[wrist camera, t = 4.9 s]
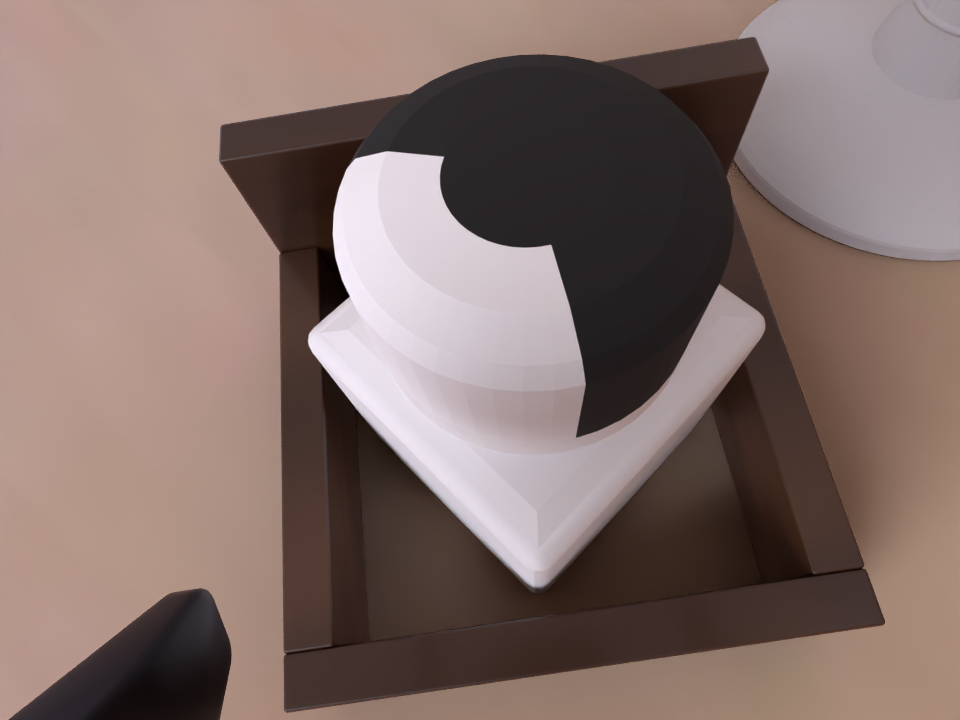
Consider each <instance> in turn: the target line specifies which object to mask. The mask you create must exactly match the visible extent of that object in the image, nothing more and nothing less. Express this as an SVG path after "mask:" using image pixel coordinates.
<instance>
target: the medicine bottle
mask: <svg viewBox="0 0 960 720" xmlns="http://www.w3.org/2000/svg"><path fill="white" fill-rule="evenodd" d="M733 234H734V209H733V203H732V197H731V191H730V186H729V183H728V180H727V177H726V174H725V171H724V169H723V166H722V163H721V162H720V160H719V158H718V156H717V154H716V152H715V151H714V149H713V147H712V145H711V143H710V142H709V141H708V139H707V138H706V137H705V136H704V134H703V133H702V132H701V130H700V129H699V128H698V126H697V125H696V124H695V123H694V122H693V121H692V120H691V119H690V118H689V117H688V116H687V115H686V114H685V113H684V112H683V111H682V110H681V109H680V108H679V107H678V106H677V105H676V104H675V103H674V102H673V101H671V100H670V99H669V98H667V97H666V96H665V95H663V94H662V93H661V92H659V91H658V90H657V89H655V88H654V87H652V86H651V85H649V84H647V83H645V82H644V81H642V80H640V79H638V78H637V77H635V76H633V75H630V74H628V73H626V72H623V71H621V70H619V69H616V68H614V67H611V66H607V65H604V64H601V63H597V62H594V61H591V60H585V59H580V58H574V57H569V56H557V55H517V56H510V57H502V58H495V59H491V60H487V61H483V62H478V63H474V64H471V65H468V66H465V67H463V68H460V69H457V70H454V71H451V72H449V73H447V74H445V75H443V76H441V77H439V78H437V79H434V80H432V81H430V82H429V83H427V84H426V85H424V86H422V87H421V88H419V89H417V90H416V91H414V92H413V93H411V94H410V95H409V96H407V97H406V98H405V99H404V100H402V101H401V102H400V103H398V104H397V105H396V106H395V107H394V108H393V109H392V110H391V111H390V112H389V113H388V114H387V115H386V116H385V117H384V118H383V119H382V120H381V121H380V122H379V123H378V124H377V125H376V126H375V127H374V129H373V130H372V131H371V132H370V134H369V135H368V136H367V138H366V139H365V140H364V142H363V143H362V144H361V145H360V147H359V148H358V149H357V151H356V153H355V155H354V157H353V158H352V160H351V162H350V164H349V166H348V167H347V169H346V172H345V174H344V177H343V180H342V182H341V185H340V188H339V190H338V195H337V199H336V204H335V209H334V218H333V242H334V250H335V258H336V261H337V265H338V268H339V271H340V275H341V278H342V281H343V283H344V285H345V287H346V289H347V291H348V293H349V295H350V297H349V298H348V299H346V300H345V301H344V302H343V303H342V304H341V305H339V306H338V307H337V308H336V309H335V310H334V311H333V312H331V313H330V314H329V315H328V316H327V317H326V318H324V319H323V320H322V321H321V322H320V323H319V324H317V325H316V326H315V327H314V328H313V329H312V331H311V332H310V333H309V338H308V344H309V347H310V349H311V351H312V353H313V354H314V355H315V356H316V358H317V359H318V360H319V362H320V363H321V364H322V365H323V367H324V368H325V369H326V371H327V372H328V373H329V374H330V376H331V377H332V378H333V380H334V381H335V382H336V383H337V385H338V386H339V387H340V388H341V390H342V391H343V392H344V394H345V395H346V396H347V397H348V399H349V400H350V401H351V403H352V404H353V405H354V406H355V408H356V409H357V410H358V412H359V413H360V414H361V415H362V417H363V418H364V419H365V421H366V422H367V423H368V424H369V426H370V427H371V428H372V430H373V431H374V432H375V433H376V435H377V436H378V437H379V438H380V439H381V440H382V441H383V442H384V443H385V444H386V445H387V446H388V447H389V448H390V449H391V450H392V451H393V452H394V453H395V454H396V455H397V456H398V457H399V458H400V459H401V460H402V461H403V463H404V464H405V465H406V466H407V467H408V468H409V469H410V470H411V471H412V472H413V473H414V474H415V475H416V476H417V477H418V478H419V479H420V480H421V481H422V482H423V483H424V484H425V485H426V486H427V487H428V488H429V489H430V490H431V491H432V492H433V493H434V494H435V495H436V496H437V497H438V498H439V499H440V500H441V501H442V502H443V503H444V504H445V505H446V506H447V507H448V508H449V509H450V510H451V511H452V513H453V514H454V515H455V516H456V517H457V518H458V519H459V520H460V521H461V522H462V523H463V524H464V525H465V526H466V527H467V528H468V529H469V530H470V531H471V532H472V533H473V534H474V535H475V536H476V537H477V538H478V539H479V540H480V541H481V542H482V543H483V544H484V545H485V546H486V547H487V548H488V549H489V550H490V551H491V552H492V553H493V554H494V555H495V556H496V557H497V558H498V559H499V560H500V561H501V563H502V564H503V565H504V566H505V567H506V568H507V569H508V570H509V571H510V572H511V573H512V574H513V575H514V576H515V577H516V578H517V579H518V580H519V581H520V582H521V583H522V584H523V585H524V586H525V587H526V588H527V589H528V590H529V591H531V592H533V593H534V594H542V593H544V592H546V591H547V590H548V589H549V588H550V587H551V586H552V585H553V584H554V583H555V582H556V580H557V579H558V578H559V577H560V576H561V575H562V574H563V573H564V572H565V571H566V569H567V568H568V567H569V566H570V565H571V564H572V563H573V562H574V561H575V559H576V558H577V557H578V556H579V555H580V554H581V553H582V552H583V551H584V549H585V548H586V547H587V546H588V545H589V544H590V543H591V542H592V541H593V540H594V538H595V537H596V536H597V535H598V534H599V533H600V532H601V531H602V530H603V528H604V527H605V526H606V525H607V524H608V523H609V522H610V521H611V520H612V519H613V517H614V516H615V515H616V514H617V513H618V512H619V511H620V510H621V509H622V507H623V506H624V505H625V504H626V503H627V502H628V501H629V500H630V499H631V498H632V496H633V495H634V494H635V493H636V492H637V491H638V490H639V489H640V488H641V486H642V485H643V484H644V483H645V482H646V481H647V480H648V479H649V478H650V477H651V475H652V474H653V473H654V472H655V471H656V470H657V469H658V468H659V467H660V465H661V464H662V463H663V462H664V461H665V460H666V459H667V458H668V457H669V455H670V454H671V453H672V452H673V451H674V450H675V449H676V448H677V447H678V446H679V444H680V443H681V442H682V441H683V440H684V439H685V438H686V437H687V436H688V434H689V433H690V432H691V431H692V430H693V429H694V428H695V426H696V425H697V424H698V422H699V421H700V420H701V418H702V417H703V415H704V414H705V413H706V411H707V410H708V409H709V407H710V406H711V405H712V403H713V402H714V401H715V399H716V398H717V397H718V395H719V394H720V393H721V391H722V390H723V389H724V387H725V386H726V384H727V383H728V382H729V380H730V379H731V378H732V376H733V375H734V374H735V372H736V371H737V370H738V368H739V367H740V366H741V364H742V363H743V362H744V360H745V359H746V358H747V356H748V355H749V353H750V352H751V351H752V349H753V348H754V347H755V345H756V344H757V343H758V341H759V340H760V339H761V337H762V335H763V333H764V331H765V320H764V317H763V316H762V315H761V314H760V313H759V312H758V311H757V310H755V309H754V308H753V307H751V306H750V305H748V304H747V303H746V302H744V301H743V300H741V299H740V298H738V297H737V296H736V295H734V294H733V293H731V292H730V291H729V290H727V289H726V288H724V287H723V286H722V285H720V281H721V279H722V276H723V273H724V271H725V268H726V265H727V263H728V260H729V256H730V251H731V245H732V240H733Z"/></svg>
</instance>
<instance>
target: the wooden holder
mask: <svg viewBox="0 0 960 720" xmlns="http://www.w3.org/2000/svg"><path fill="white" fill-rule="evenodd" d="M597 63H601V64H604V65H607V66H611V67H614V68H616V69H619V70H621V71H623V72H626V73H628V74H630V75H633V76H635V77H637V78H638V79H640V80H642V81H644V82H645V83H647V84H649V85H651V86H652V87H654V88H655V89H657V90H658V91H659V92H661V93H662V94H663V95H665V96H666V97H667V98H669V99H670V100H671V101H673V102H674V103H675V104H676V105H677V106H678V107H679V108H680V109H681V110H682V111H683V112H684V113H685V114H686V115H687V116H688V117H689V118H690V119H691V120H692V121H693V122H694V123H695V124H696V125H697V126H698V128H699V129H700V130H701V132H702V133H703V134H704V136H705V137H706V138H707V139H708V141H709V142H710V143H711V145H712V147H713V149H714V151H715V152H716V154H717V156H718V158H719V160H720V162H721V163H722V166H723V169H724V171H725V174H726V176H727V174H728V171H729V169H730V167H731V164H732V162H733V159H734V157H735V154H736V152H737V149H738V147H739V145H740V142H741V140H742V137H743V135H744V132H745V130H746V127H747V125H748V122H749V120H750V118H751V115H752V113H753V110H754V108H755V105H756V103H757V100H758V98H759V96H760V93H761V91H762V88H763V86H764V83H765V81H766V78H767V76H768V74H769V67H768V65H767V63H766V60H765V58H764V56H763V53H762V51H761V49H760V46H759V44H758V42H757V40H756V38H755V37H748V38H742V39H736V40H730V41H724V42H718V43H712V44H706V45H700V46H694V47H688V48H682V49H676V50H669V51H663V52H657V53H651V54H645V55H639V56H633V57H627V58H621V59H615V60H609V61H603V62H597ZM409 95H410V94H405V95H399V96H393V97H387V98H381V99H375V100H369V101H363V102H357V103H351V104H345V105H339V106H333V107H327V108H321V109H315V110H309V111H303V112H297V113H291V114H285V115H279V116H273V117H267V118H261V119H255V120H248V121H242V122H236V123H230V124H224V125H222V126H221V127H220V154H219V161H220V163H221V165H222V166H223V168H224V169H225V171H226V172H227V174H228V175H229V177H230V178H231V180H232V181H233V183H234V184H235V186H236V187H237V189H238V190H239V192H240V193H241V195H242V196H243V198H244V199H245V201H246V202H247V204H248V205H249V207H250V208H251V210H252V211H253V213H254V214H255V216H256V217H257V219H258V220H259V222H260V223H261V225H262V226H263V228H264V229H265V231H266V232H267V234H268V235H269V237H270V238H271V240H272V241H273V243H274V244H275V246H276V247H277V249H278V250H279V252H280V255H279V262H280V355H281V447H282V540H283V632H284V653H286V655H285V656H284V710H285V712H287V713H289V712H295V711H302V710H309V709H316V708H323V707H330V706H336V705H343V704H350V703H357V702H364V701H370V700H377V699H384V698H391V697H398V696H405V695H411V694H418V693H425V692H432V691H439V690H445V689H452V688H459V687H466V686H473V685H480V684H486V683H493V682H500V681H507V680H514V679H520V678H527V677H534V676H541V675H548V674H555V673H561V672H568V671H575V670H582V669H589V668H595V667H602V666H609V665H616V664H623V663H629V662H636V661H643V660H650V659H657V658H664V657H670V656H677V655H684V654H691V653H698V652H704V651H711V650H718V649H725V648H732V647H739V646H745V645H752V644H759V643H766V642H773V641H779V640H786V639H793V638H800V637H807V636H814V635H820V634H827V633H834V632H841V631H848V630H854V629H861V628H868V627H875V626H882V625H884V624H885V620H884V618H883V615H882V612H881V609H880V607H879V604H878V601H877V598H876V595H875V593H874V590H873V587H872V584H871V582H870V579H869V576H868V573H867V571H866V570H865V569H862V568H863V567H864V563H863V560H862V557H861V554H860V552H859V549H858V546H857V543H856V540H855V538H854V535H853V532H852V529H851V527H850V524H849V521H848V518H847V516H846V513H845V510H844V507H843V504H842V502H841V499H840V496H839V493H838V491H837V488H836V485H835V482H834V480H833V477H832V474H831V471H830V469H829V466H828V463H827V460H826V457H825V455H824V452H823V449H822V446H821V444H820V441H819V438H818V435H817V433H816V430H815V427H814V424H813V421H812V419H811V416H810V413H809V410H808V408H807V405H806V402H805V399H804V397H803V394H802V391H801V388H800V385H799V383H798V380H797V377H796V374H795V372H794V369H793V366H792V363H791V361H790V358H789V355H788V352H787V349H786V347H785V344H784V341H783V338H782V336H781V333H780V330H779V327H778V325H777V322H776V319H775V316H774V313H773V311H772V308H771V305H770V302H769V300H768V297H767V294H766V291H765V289H764V286H763V283H762V280H761V277H760V275H759V272H758V269H757V266H756V264H755V261H754V258H753V255H752V253H751V250H750V247H749V244H748V241H747V239H746V236H745V233H744V230H743V228H742V225H741V222H740V219H739V217H738V214H737V211H736V208H735V205H734V203H733V200H732V203H733V209H734V234H733V240H732V245H731V251H730V256H729V260H728V263H727V265H726V268H725V271H724V273H723V276H722V279H721V281H720V285H722V286H723V287H724V288H726V289H727V290H729V291H730V292H731V293H733V294H734V295H736V296H737V297H738V298H740V299H741V300H743V301H744V302H746V303H747V304H748V305H750V306H751V307H753V308H754V309H755V310H757V311H758V312H759V313H760V314H761V315H762V316H763V317H764V320H765V331H764V333H763V335H762V337H761V339H760V340H759V341H758V343H757V344H756V345H755V347H754V348H753V349H752V351H751V352H750V353H749V355H748V356H747V358H746V359H745V360H744V362H743V363H742V364H741V366H740V367H739V368H738V370H737V371H736V372H735V374H734V375H733V376H732V378H731V379H730V380H729V382H728V383H727V384H726V386H725V387H724V389H723V390H722V391H721V393H720V394H719V395H718V397H717V398H716V399H715V401H714V402H713V403H712V405H711V407H712V410H713V414H714V417H715V420H716V424H717V427H718V430H719V434H720V437H721V440H722V444H723V447H724V451H725V454H726V457H727V461H728V464H729V467H730V471H731V474H732V477H733V481H734V484H735V488H736V491H737V494H738V498H739V501H740V504H741V508H742V511H743V514H744V518H745V521H746V525H747V528H748V531H749V535H750V538H751V541H752V545H753V548H754V551H755V555H756V558H757V562H758V565H759V568H760V572H761V575H762V578H763V582H764V583H762V584H755V585H748V586H741V587H735V588H728V589H721V590H714V591H708V592H701V593H694V594H687V595H681V596H674V597H667V598H661V599H654V600H647V601H640V602H634V603H627V604H620V605H613V606H607V607H600V608H593V609H587V610H580V611H573V612H566V613H560V614H553V615H546V616H539V617H533V618H526V619H519V620H513V621H506V622H499V623H492V624H486V625H479V626H472V627H465V628H459V629H452V630H445V631H439V632H432V633H425V634H418V635H412V636H405V637H398V638H391V639H385V640H378V641H371V642H369V630H368V614H367V597H366V580H365V564H364V547H363V530H362V514H361V497H360V481H359V464H358V447H357V431H356V414H355V406H354V405H353V404H352V403H351V401H350V400H349V399H348V397H347V396H346V395H345V394H344V392H343V391H342V390H341V388H340V387H339V386H338V385H337V383H336V382H335V381H334V380H333V378H332V377H331V376H330V374H329V373H328V372H327V371H326V369H325V368H324V367H323V365H322V364H321V363H320V362H319V360H318V359H317V358H316V356H315V355H314V354H313V353H312V351H311V349H310V347H309V344H308V338H309V333H310V332H311V331H312V329H313V328H314V327H315V326H316V325H317V324H319V323H320V322H321V321H322V320H323V319H324V318H326V317H327V316H328V315H329V314H330V313H331V312H333V311H334V310H335V309H336V308H337V307H338V306H339V305H341V304H342V303H343V302H344V301H345V300H346V299H348V298H349V297H350V295H349V293H348V291H347V289H346V287H345V285H344V283H343V281H342V278H341V275H340V271H339V268H338V265H337V261H336V258H335V250H334V242H333V218H334V209H335V204H336V199H337V195H338V190H339V188H340V185H341V182H342V180H343V177H344V174H345V172H346V169H347V167H348V166H349V164H350V162H351V160H352V158H353V157H354V155H355V153H356V151H357V149H358V148H359V147H360V145H361V144H362V143H363V142H364V140H365V139H366V138H367V136H368V135H369V134H370V132H371V131H372V130H373V129H374V127H375V126H376V125H377V124H378V123H379V122H380V121H381V120H382V119H383V118H384V117H385V116H386V115H387V114H388V113H389V112H390V111H391V110H392V109H393V108H394V107H395V106H396V105H397V104H398V103H400V102H401V101H402V100H404V99H405V98H406V97H407V96H409Z"/></svg>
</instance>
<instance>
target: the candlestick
mask: <svg viewBox="0 0 960 720" xmlns="http://www.w3.org/2000/svg"><path fill="white" fill-rule="evenodd" d="M748 37H755V38H756V40H757V42H758V44H759V46H760V49H761V51H762V53H763V56H764V58H765V60H766V63H767V65H768V67H769V74H768V76H767V78H766V81H765V83H764V86H763V88H762V91H761V93H760V96H759V98H758V100H757V103H756V105H755V108H754V110H753V113H752V115H751V118H750V120H749V122H748V125H747V127H746V130H745V132H744V135H743V137H742V140H741V142H740V145H739V147H738V149H737V152H736V154H735V157H734V161H735V163H736V164H737V166H738V167H739V169H740V170H741V171H742V173H743V174H744V175H745V177H746V178H747V179H748V180H749V182H750V183H751V184H752V185H753V186H754V187H755V188H756V189H757V190H758V191H759V192H760V193H761V194H762V195H763V196H764V197H765V198H766V199H767V200H768V201H770V202H771V203H772V204H773V205H774V206H776V207H777V208H778V209H779V210H781V211H782V212H783V213H785V214H786V215H788V216H789V217H791V218H792V219H794V220H795V221H797V222H799V223H800V224H802V225H804V226H805V227H807V228H809V229H811V230H813V231H815V232H817V233H819V234H821V235H823V236H825V237H827V238H830V239H832V240H834V241H837V242H840V243H842V244H845V245H848V246H851V247H854V248H857V249H860V250H864V251H867V252H871V253H875V254H880V255H885V256H890V257H896V258H903V259H912V260H926V261H949V260H960V0H779V1H777V2H776V3H774V4H773V5H771V6H770V7H768V8H767V9H765V10H764V11H763V12H762V13H760V14H759V15H758V16H757V17H756V18H755V19H754V20H752V22H751V23H750V24H749V25H748V26H747V27H746V28H745V29H744V30H743V32H742V33H741V35H740V36H739V37H738V39H742V38H748Z"/></svg>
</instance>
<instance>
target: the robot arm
mask: <svg viewBox="0 0 960 720" xmlns="http://www.w3.org/2000/svg"><path fill="white" fill-rule="evenodd" d="M230 665H231V645H230V641H229V638H228V635H227V632H226V630H225V627H224V625H223V622H222V619H221V617H220V614H219V612H218V609H217V607H216V604H215V601H214V599H213V597H212V595H211V594H210V593H209V591H207V590H205V589H202V588H199V589H192V590H186V591H179V592H174V593H170V594H168V595H167V596H165V597H164V598H162V599H161V600H160V601H159V602H157V603H156V604H155V605H154V606H152V607H151V608H150V609H149V610H147V611H146V612H145V613H143V614H142V615H141V616H140V617H138V618H137V619H136V620H135V621H133V622H132V623H131V624H129V625H128V626H127V627H126V628H124V629H123V630H122V631H121V632H119V633H118V634H117V635H115V636H114V637H113V638H112V639H110V640H109V641H108V642H107V643H105V644H104V645H103V646H102V647H100V648H99V649H98V650H96V651H95V652H94V653H93V654H91V655H90V656H89V657H88V658H86V659H85V660H84V661H82V662H81V663H80V664H79V665H77V666H76V667H75V668H74V669H72V670H71V671H70V672H68V673H67V674H66V675H65V676H63V677H62V678H61V679H60V680H58V681H57V682H56V683H55V684H53V685H52V686H51V687H49V688H48V689H47V690H46V691H44V692H43V693H42V694H41V695H39V696H38V697H37V698H35V699H34V700H33V701H32V702H30V703H29V704H28V705H27V706H25V707H24V708H23V709H22V710H20V711H19V712H18V713H16V714H15V715H14V716H13V717H11V718H10V719H9V720H220V715H221V710H222V705H223V700H224V695H225V690H226V685H227V680H228V675H229V670H230Z"/></svg>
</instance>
